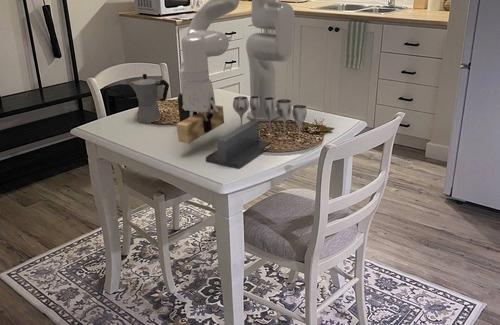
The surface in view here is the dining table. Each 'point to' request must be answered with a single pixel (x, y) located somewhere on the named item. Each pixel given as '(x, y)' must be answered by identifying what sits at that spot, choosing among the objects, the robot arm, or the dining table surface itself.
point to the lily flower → (321, 127)
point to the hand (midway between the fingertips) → (202, 129)
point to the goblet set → (271, 109)
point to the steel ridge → (238, 146)
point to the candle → (182, 112)
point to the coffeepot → (148, 98)
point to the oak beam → (197, 126)
